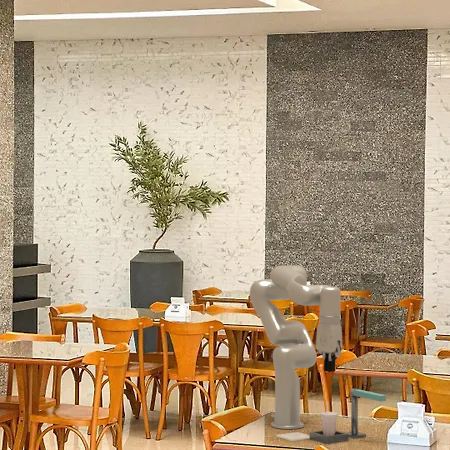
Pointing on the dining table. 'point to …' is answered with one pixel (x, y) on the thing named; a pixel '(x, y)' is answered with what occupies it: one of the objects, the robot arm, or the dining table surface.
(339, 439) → the dark grey square tray
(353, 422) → the post
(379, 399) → the teal bar
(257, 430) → the dining table surface
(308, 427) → the dining table surface
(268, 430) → the dining table surface
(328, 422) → the smoothie
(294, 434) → the coaster pad
